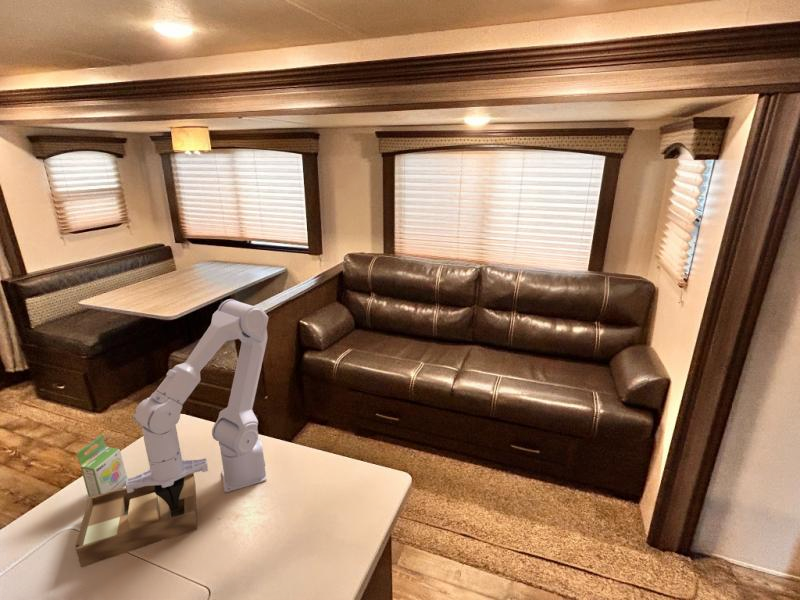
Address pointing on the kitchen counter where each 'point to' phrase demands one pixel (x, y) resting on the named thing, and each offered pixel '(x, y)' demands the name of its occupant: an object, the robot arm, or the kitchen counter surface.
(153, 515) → the maple block
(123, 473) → the ink box
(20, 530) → the kitchen counter surface
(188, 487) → the box
